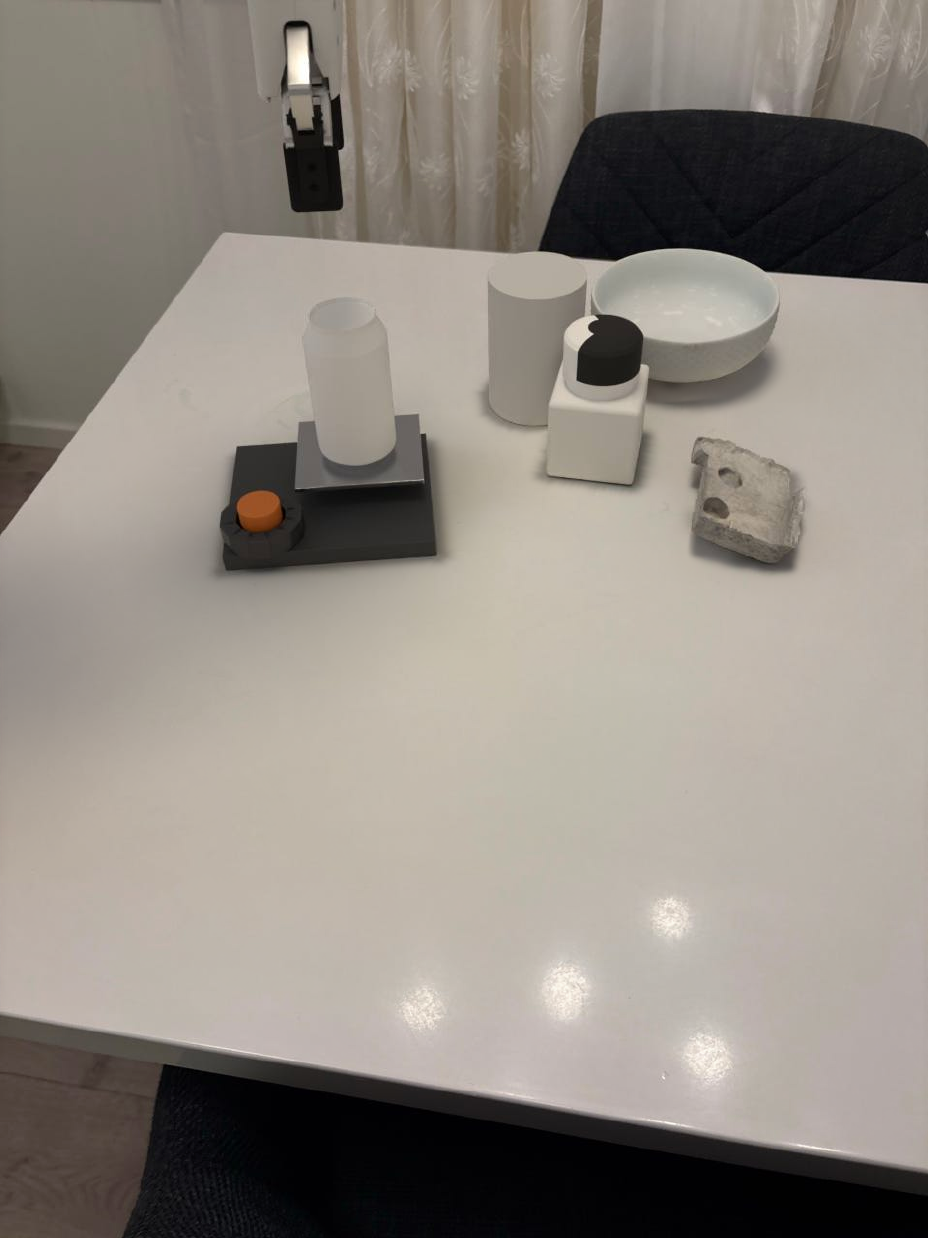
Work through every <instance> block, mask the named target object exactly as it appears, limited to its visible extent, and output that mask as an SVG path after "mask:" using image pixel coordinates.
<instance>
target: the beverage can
mask: <svg viewBox="0 0 928 1238" xmlns="http://www.w3.org/2000/svg"><path fill="white" fill-rule="evenodd" d="M307 319H308V322H307V324H306V327H305V329H304V332H303V334H302V339H301V340H302V341H301V342H302V346H303V347H302V348H303V354H304V361H305V368H306V373H307V380H308V386H309V393H310V398H311V406H312V410H313V411H312V413H313V419H314V421H315V425H316V432H317V438H318V443H319V447H320V450H321V452H322V454H323V455H324V456H325V457H327V458H328V459H329V460H331V461H333V462H336V463H339V464H343V465H347V466H364V465H369V464H371V463H374V462H376V461H378V460H380V459H382V458H384V457H385V456H386V455H388V454H389V453H390V452H391V451H392V449H393V448H394V446H395V443H396V428H395V416H394V415H395V406H394V393H393V384H392V383H393V382H392V374H391V373H392V371H391V362H390V351H389V339H388V337H389V336H388V331H387V328H386V326H385V325H384V324H383V322H382V320H381V319H380V318H379V316H378V315H377V309H376V308H375V306H374V305H373V304H372V303H371V302H370V301H367V300H366V299H362V298H359V297H352V296H351V297H350V296H344V297H343V296H342V297H333V298H329V299H326V300H323V301H321V302H319V303H317V304H315V305H314V306H313V307H312V308H311V309H310V310H309V312H308V314H307Z"/></svg>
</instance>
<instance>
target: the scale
mask: <svg viewBox="0 0 928 1238" xmlns="http://www.w3.org/2000/svg"><path fill="white" fill-rule="evenodd" d="M420 435H421V447H422V459H423V471H424V484H412V485H397V486H383V487H369V488H354V489H340V490H326V491H311V492H297V493H296V492H295V474H296V458H297V441H295V442H293V441H292V442H280V443H266V444H265V443H264V444H251V445H237V446H236V448H235V456H234V464H233V470H232V471H233V473H232V478H231V487H230V493H229V494H230V495H229V502H228V505H227V506H226V507H224V509H223V510H222V511H221V513H220V519H219V529H220V533H221V538H222V541H223V548H222V556H221V558H222V560H223V565H224V568H225V571H231V570H232V571H233V570H244V569H259V568H272V567H286V566H288V567H289V566H299V565H313V564H326V563H341V562H355V561H356V562H357V561H369V560H370V561H371V560H385V559H396V558H397V559H398V558H410V557H424V556H437V543H436V542H437V541H436V530H435V521H434V520H435V519H434V507H433V506H434V505H433V496H432V486H431V474H430V463H429V461H430V460H429V450H428V439H427V433H424V432H423V433H420ZM255 491H269V492H272V493H274V494H275V495H277V496H278V498H279V500H280V505H281V510H282V515H283V518H282V522H281V523H280V524H279V526H277V527H276V528H273V529H271V530H269V531H266V532H255V533H253V532H249V531H247V530H245V529H244V528H243V527H242V526H241V524H240V519H239V515H238V511H237V503H238V501H239V500H240V499H241V498H242V497H243V496H245V495H246V494H248V493H251V492H255Z"/></svg>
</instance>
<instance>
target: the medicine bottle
mask: <svg viewBox="0 0 928 1238" xmlns="http://www.w3.org/2000/svg"><path fill="white" fill-rule="evenodd" d="M642 348H643V334H642V332H641V330H640V329H639V328H638V326H637V325H636V324H634V323H633V322H632V321H630V320H628V319H626V318H623V317H619V316H615V315H606V314H599V315H591V314H590V315H585V317H583V318H580V319H578V320H576V321H575V322H573V323H572V324H571V325H570V326H569V327H568V328H567V329H566V331H565V333H564V350H563V360H562V363H561V366H560V369H559V373H558V376H557V379H556V383H555V386H554V389H553V392H552V396H551V399H550V402H549V412H548V425H547V443H546V445H547V446H546V448H547V449H546V474H547V475H548V476H550V477H558V478H559V477H560V478H567V479H576V480H585V481H593V482H601V483H602V482H603V483H609V484H610V483H611V484H619V485H629V486H630V485H632V484H633V482H634V481H635V474H636V470H637V463H638V460H639V454H640V449H641V442H642V437H643V430H644V420H645V411H646V404H647V403H646V402H647V393H648V385H649V378H648V377H649V367H648V366H647V365H643V364H641V357H642Z"/></svg>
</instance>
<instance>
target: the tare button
mask: <svg viewBox="0 0 928 1238" xmlns="http://www.w3.org/2000/svg"><path fill="white" fill-rule="evenodd" d="M237 511H238V515H239V519H240V524H241V526H242V527H243V528H244V529H245V530H247V531H249V532H253V533H255V532H266V531H269V530H271V529H273V528H276V527H277V526H279V524H280V523H281V522H282V518H283V515H282V510H281V505H280V500H279V498H278V496H277V495H275V494H274V493H272V492H269V491H255V492H251V493H248V494H246V495H245V496H243V497H242V498H241V499H240V500H239V501H238V503H237Z"/></svg>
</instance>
